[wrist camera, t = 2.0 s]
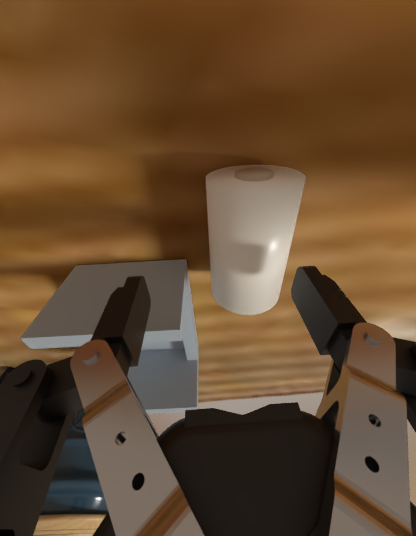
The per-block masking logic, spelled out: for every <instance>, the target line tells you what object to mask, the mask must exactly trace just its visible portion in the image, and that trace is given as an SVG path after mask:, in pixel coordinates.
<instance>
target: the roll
mask: <svg viewBox="0 0 416 536" xmlns="http://www.w3.org/2000/svg"><path fill="white" fill-rule="evenodd" d="M305 181H306V176H305V175H304V174H303V173H302V172H300V171H297V170H295V169H292V168H287V167H282V166H275V165H257V164H256V165H239V166H230V167H225V168H221V169H218V170H215V171H212V172H210V173H209V174H208V175H207V176H206V196H207V214H208V233H209V252H210V271H211V289H212V295H213V297H214V299H215V301H216V302H217V303H218V304H219V305H220V306H221V307H223V308H224V309H226V310H228V311H230V312H233V313H237V314H242V315H255V314H260V313H263V312H266V311H268V310H269V309H271V308H272V307H273V306H274V305H275V304H276V303H277V301H278V299H279V294H280V290H281V286H282V281H283V277H284V273H285V268H286V264H287V259H288V255H289V251H290V246H291V242H292V237H293V233H294V229H295V224H296V220H297V216H298V211H299V207H300V202H301V198H302V194H303V189H304V185H305Z"/></svg>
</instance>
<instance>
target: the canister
mask: <svg viewBox="0 0 416 536" xmlns="http://www.w3.org/2000/svg"><path fill="white" fill-rule="evenodd" d="M84 414H85V412H84V408H82V409H79V410H77V411H75V413H74V416H73V419H72V422H71V425H70V428H69V431H68V434H67V437H66V440H65V443H64V446H63V449H62V451H61V454H60V457H59V460H58V463H57V466H56V469H55V472H54V475H53V478H52V481H51V484H50V487H49V490H48V493H47V496H46V499H45V502H44V505H43V508H42V511H41V514H40V516H39V519H38V522H37V525H36V528H35V531H34V534H33V536H93V534H94V533H95V531H96V529H97V528H98V526H99V525H100V523H101V522H102V520H103V519H104V517H105V516H106V514H107V513H108V508H107V504H106V501H105V498H104V494H103V491H102V488H101V484H100V481H99V478H98V474H97V471H96V468H95V464H94V461H93V457H92V454H91V451H90V447H89V444H88V441H87V437H86V434H85V431H84V427H83V423H82V416H83V415H84Z"/></svg>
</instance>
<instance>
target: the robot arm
mask: <svg viewBox="0 0 416 536" xmlns="http://www.w3.org/2000/svg"><path fill="white" fill-rule="evenodd" d="M291 294H292V299H293V301H294V303H295V305H296V307H297V309H298V311H299V313H300V315H301V317H302V319H303V321H304V323H305V325H306V327H307V329H308V331H309V333H310V335H311V337H312V339H313V341H314V343H315V345H316V347H317V349H318V351H319V353H320V355H331V357H332V359H333V360H332V362H331V364H330V369H329V373H328V377H327V381H326V385H325V390H324V394H323V398H322V401H321V404H320V406H319V408H318V410H317V413H316V416H313V415H311V414H309V413H306V412H303V411H300V408H299V405H298V403H297V402H296V403H281V404H270V405H267V406H265V407H262V408H260V409H257V410H255V411H253V412H250V413H247V414H244V415H240V414H236V413H232V412H227V411H223V410H219V409H214V408H209V409H194V410H185V418H183V419H181V420H179V421H177V422H176V423H174V424H172V425H171V426H170V427H168V428H167V429H166V430H165V431H164V432H163V433H162V434H161V435H160V436H159V435H158V433H157V432H156V429H155V428H154V426H153V424H152V422H151V420H150V418H149V416H148V415H147V413H146V411H145V409H144V407H143V405H142V403H141V401H140V400H139V398H138V396H137V394H136V392H135V390H134V388H133V386H132V384H131V382H130V380H129V378H128V377H127V375H128V371H129V367H136V366H138V362H139V357H140V353H141V348H142V344H143V339H144V335H145V330H146V326H147V321H148V317H149V312H150V307H151V299H150V294H149V291H148V288H147V284H146V281H145V278H144V276H129V277H127V279H126V282H125V284H124V287H118V288H117V289H116V290H115V291H114V292H113V293H112V294H111V295H110V297H109V299H108V302H107V305H106V306H105V309H104V312H103V313H102V315H101V318H100V320H99V322H98V324H97V327H96V329H95V331H94V333H93V336H92V338H91V340H90V341H89V342H87V343H85V344H83V345H82V346H81V347H79V348H78V349H77V350H76V351H75V353H74V354H73V356H72V357H69V358H66V359H64V360H61V361H58V362H55V363H52V364H49V365H46V364H45V363H44V362H43V361H41V360H30V361H27V362H25V363H23V364H21V365H19V366H17V367H16V368H15V369H13V370H12V371H11V372H10V373H9V374H8V375H7V376H6V377H5V379H4V380H3V381H2V383H1V384H0V536H33V534H34V531H35V528H36V525H37V522H38V519H39V516H40V514H41V511H42V508H43V505H44V502H45V499H46V496H47V493H48V490H49V487H50V484H51V481H52V478H53V475H54V472H55V469H56V466H57V463H58V460H59V457H60V454H61V451H62V449H63V446H64V443H65V440H66V437H67V434H68V431H69V428H70V425H71V422H72V419H73V416H74V413H75V411H77V410H79V409H82V408H84V412H85V414H84V415H83V416H82V423H83V427H84V431H85V434H86V437H87V441H88V444H89V447H90V451H91V454H92V457H93V461H94V464H95V468H96V471H97V474H98V478H99V481H100V484H101V488H102V491H103V494H104V498H105V501H106V504H107V508H108V513H107V514H106V516H105V517H104V519H103V520H102V522H101V523H100V525H99V526H98V528H97V529H96V531H95V533H94V534H93V536H416V506H414V505H413V503H412V502H410V488H409V461H408V434H407V419H408V421H409V422H410V424H411V425H412V427H413V429H414V430H415V432H416V342H413V341H408V340H403V339H398V338H393V337H391V335H390V334H389V333H388V332H386V331H385V330H384V329H382V328H380V327H379V326H376V325H374V324H371V323H367V322H366V321H365V320H364V318H363V317H362V316H361V314H360V313H359V312H358V311H357V309H356V308H355V307H354V306H353V304H352V303H351V302H350V300H349V299H348V298H346V295H345V294H344V293H343V291H341V289H340V288H339V286H338V285H337V284H336V283H335V281H333V280H332V279H330V278H329V277H327V276H326V275H322V274H321V273H320V272H319V270H318V269H317V268H316V267H315V266H304V267H298V268H297V271H296V274H295V278H294V281H293V285H292V289H291Z"/></svg>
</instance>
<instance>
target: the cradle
mask: <svg viewBox="0 0 416 536" xmlns="http://www.w3.org/2000/svg"><path fill="white" fill-rule="evenodd" d="M129 276H144V278H145V281H146V284H147V288H148V291H149V294H150V299H151V307H150V312H149V317H148V321H147V326H146V330H145V335H144V339H143V344H142V348H141V353H140V357H139V362H138V366H136V367H129V371H128V375H127V377H128V378H129V380H130V382H131V384H132V386H133V388H134V390H135V392H136V394H137V396H138V398H139V400H140V401H141V403H142V405H143V407H144V409H145V411H146V413H147V414H160V413H179V412H185V410H194V409H198V339H197V332H196V325H195V318H194V311H193V304H192V296H191V289H190V282H189V275H188V268H187V260H186V259H179V260H162V261H144V262H127V263H109V264H92V265H76V266H75V267H74V269H73V270H72V271H71V273H70V274H69V275H68V276H67V278H66V279H65V280H64V282H63V283H62V284H61V286H60V287H59V288H58V290H57V291H56V292H55V293H54V295H53V296H52V297H51V299H50V300H49V301H48V303H47V304H46V305H45V306H44V308H43V309H42V310H41V312H40V313H39V314H38V316H37V317H36V318H35V319H34V321H33V322H32V323H31V325H30V326H29V327H28V329H27V330H26V331H25V332H24V334H23V335H22V336H21V338H20V339H21V340H22V341H23V342H24V343H25V344H26V345H27V346H28V347H29V348H30V349H41V348H59V347H77V346H82V345H83V344H85V343H87V342H89V341H90V340H91V338H92V336H93V333H94V331H95V329H96V327H97V324H98V322H99V320H100V318H101V315H102V313H103V312H104V309H105V306H106V305H107V302H108V299H109V297H110V295H111V294H112V293H113V292H114V291H115V290H116V289H117V288H118V287H124V284H125V282H126V279H127V277H129Z"/></svg>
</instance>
